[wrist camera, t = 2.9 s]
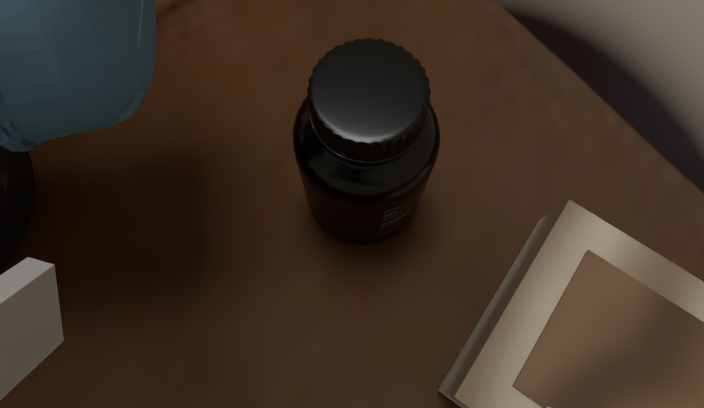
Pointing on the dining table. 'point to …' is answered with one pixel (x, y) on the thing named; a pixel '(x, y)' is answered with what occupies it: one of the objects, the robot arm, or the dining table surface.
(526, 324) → the plate
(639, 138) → the dining table surface
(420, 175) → the supplement bottle
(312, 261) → the dining table surface
